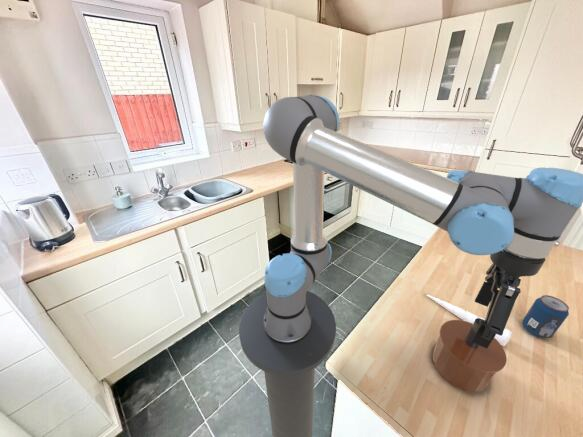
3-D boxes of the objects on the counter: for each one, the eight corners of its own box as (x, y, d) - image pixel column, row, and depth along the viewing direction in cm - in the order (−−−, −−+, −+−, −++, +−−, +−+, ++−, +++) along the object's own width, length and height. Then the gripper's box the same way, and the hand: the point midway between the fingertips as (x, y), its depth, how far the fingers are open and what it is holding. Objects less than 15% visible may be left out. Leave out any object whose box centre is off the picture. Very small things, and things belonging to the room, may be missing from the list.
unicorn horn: (432, 291, 89) (435, 281, 87) (509, 341, 71) (516, 331, 69) (424, 296, 87) (427, 286, 85) (502, 349, 69) (509, 339, 67)
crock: (428, 372, 64) (438, 350, 60) (436, 337, 73) (445, 315, 69) (487, 403, 58) (503, 381, 53) (487, 360, 67) (501, 338, 62)
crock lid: (435, 352, 60) (444, 329, 56) (442, 314, 70) (451, 292, 65) (505, 387, 53) (523, 363, 48) (503, 339, 62) (517, 316, 58)
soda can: (532, 319, 78) (550, 291, 72) (557, 338, 72) (579, 310, 66) (514, 323, 77) (531, 295, 71) (538, 342, 71) (559, 314, 65)
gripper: (560, 298, 36) (502, 377, 46) (537, 227, 54) (498, 296, 64) (497, 277, 40) (456, 355, 50) (495, 218, 58) (465, 284, 68)
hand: (480, 322), depth 57 cm, fingers open, 13 cm apart
